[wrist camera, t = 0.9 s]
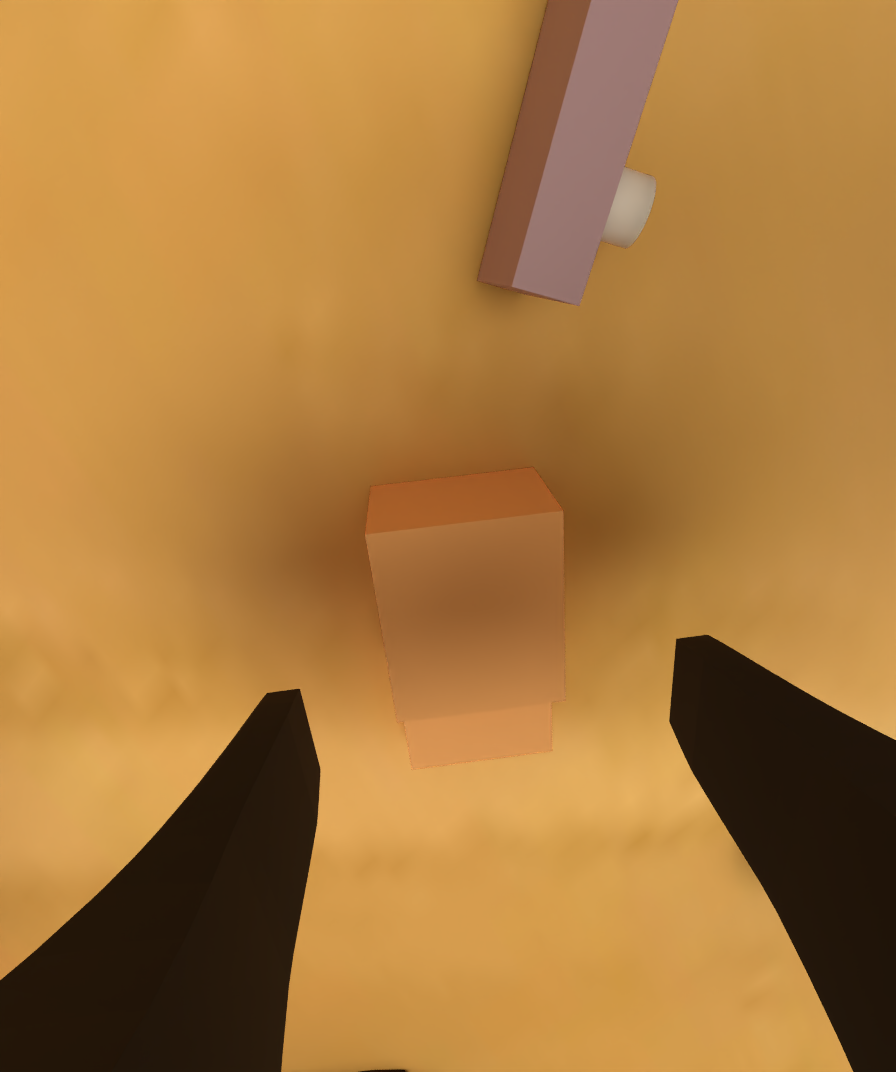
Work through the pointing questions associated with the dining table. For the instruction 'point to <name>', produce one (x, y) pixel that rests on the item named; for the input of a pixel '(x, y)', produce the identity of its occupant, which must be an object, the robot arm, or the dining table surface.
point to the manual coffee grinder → (384, 1071)
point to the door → (577, 147)
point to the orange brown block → (471, 612)
